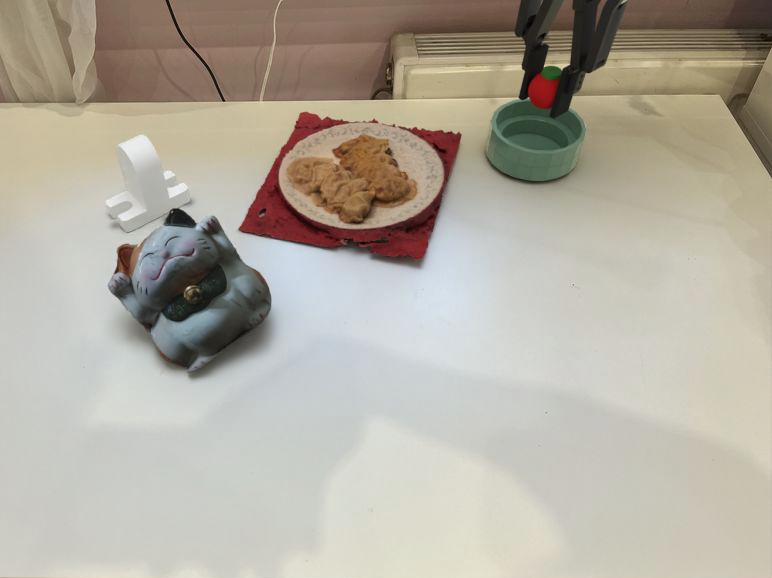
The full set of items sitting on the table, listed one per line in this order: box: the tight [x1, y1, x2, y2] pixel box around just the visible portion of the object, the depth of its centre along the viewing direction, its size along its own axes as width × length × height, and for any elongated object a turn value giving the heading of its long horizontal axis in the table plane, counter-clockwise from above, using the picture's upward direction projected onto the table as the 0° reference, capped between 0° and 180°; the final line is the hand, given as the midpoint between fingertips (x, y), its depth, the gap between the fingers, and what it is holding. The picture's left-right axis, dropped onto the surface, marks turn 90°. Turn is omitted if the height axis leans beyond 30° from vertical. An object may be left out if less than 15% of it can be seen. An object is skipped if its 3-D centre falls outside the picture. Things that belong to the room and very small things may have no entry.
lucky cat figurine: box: [107, 207, 273, 373], centre depth 74 cm, size 15×12×14 cm
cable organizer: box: [105, 133, 191, 233], centre depth 87 cm, size 5×10×10 cm, turn 128°
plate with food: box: [238, 111, 463, 261], centre depth 91 cm, size 24×26×4 cm
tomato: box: [528, 65, 563, 109], centre depth 87 cm, size 5×5×5 cm
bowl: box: [485, 98, 588, 182], centre depth 93 cm, size 12×12×5 cm
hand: (543, 104), depth 88 cm, fingers closed on tomato, 4 cm apart
